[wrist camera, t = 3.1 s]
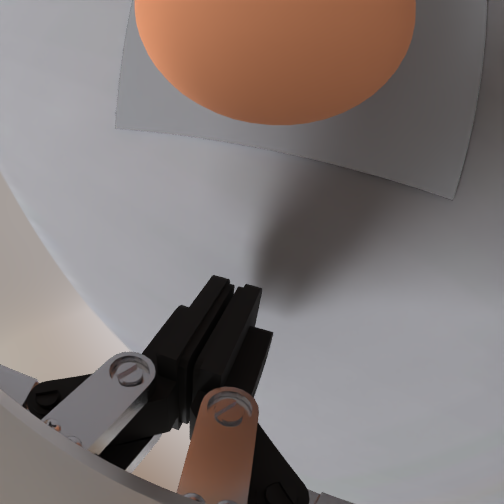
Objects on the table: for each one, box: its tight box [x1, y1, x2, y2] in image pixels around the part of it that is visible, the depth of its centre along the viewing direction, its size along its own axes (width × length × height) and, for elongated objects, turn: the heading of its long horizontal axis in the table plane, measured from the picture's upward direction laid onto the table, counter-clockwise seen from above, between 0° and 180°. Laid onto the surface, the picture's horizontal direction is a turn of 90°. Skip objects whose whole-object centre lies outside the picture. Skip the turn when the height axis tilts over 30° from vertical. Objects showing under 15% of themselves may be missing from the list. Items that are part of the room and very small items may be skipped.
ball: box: [135, 0, 416, 125], centre depth 5 cm, size 6×6×6 cm
